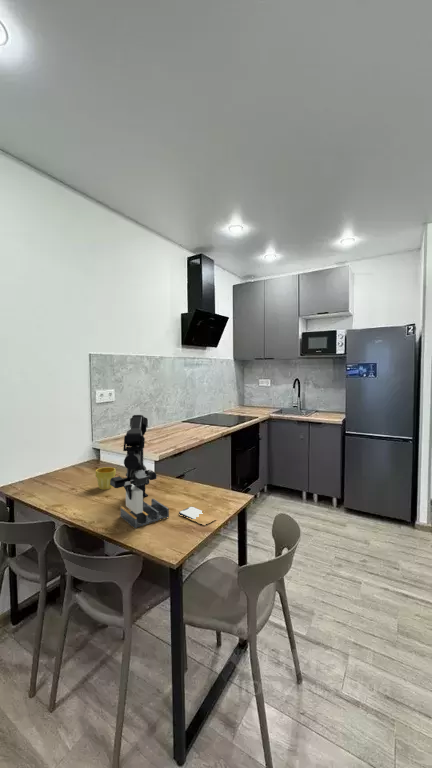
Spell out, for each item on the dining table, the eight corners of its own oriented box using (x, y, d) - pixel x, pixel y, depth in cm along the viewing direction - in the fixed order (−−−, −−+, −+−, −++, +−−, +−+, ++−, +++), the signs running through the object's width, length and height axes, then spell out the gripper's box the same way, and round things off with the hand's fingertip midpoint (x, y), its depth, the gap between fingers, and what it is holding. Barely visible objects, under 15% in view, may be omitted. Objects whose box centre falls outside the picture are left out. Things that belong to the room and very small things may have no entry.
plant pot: (118, 484, 178) (118, 467, 178) (110, 491, 168) (110, 473, 167) (100, 483, 179) (100, 466, 179) (91, 490, 169) (91, 472, 168)
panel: (125, 506, 138) (125, 485, 138) (132, 504, 140) (132, 484, 140) (136, 514, 131) (136, 492, 130) (142, 512, 133) (142, 490, 132)
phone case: (217, 520, 138) (191, 509, 148) (218, 516, 138) (191, 505, 148) (204, 528, 131) (177, 515, 141) (204, 524, 131) (177, 512, 141)
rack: (120, 516, 139) (120, 506, 139) (153, 506, 149) (153, 497, 149) (134, 528, 128) (134, 518, 128) (168, 517, 139) (169, 507, 139)
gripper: (120, 471, 123) (120, 511, 123) (163, 462, 135) (162, 499, 135) (109, 464, 131) (109, 501, 132) (150, 456, 143) (150, 491, 144)
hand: (134, 498), depth 135 cm, fingers closed on panel, 3 cm apart
